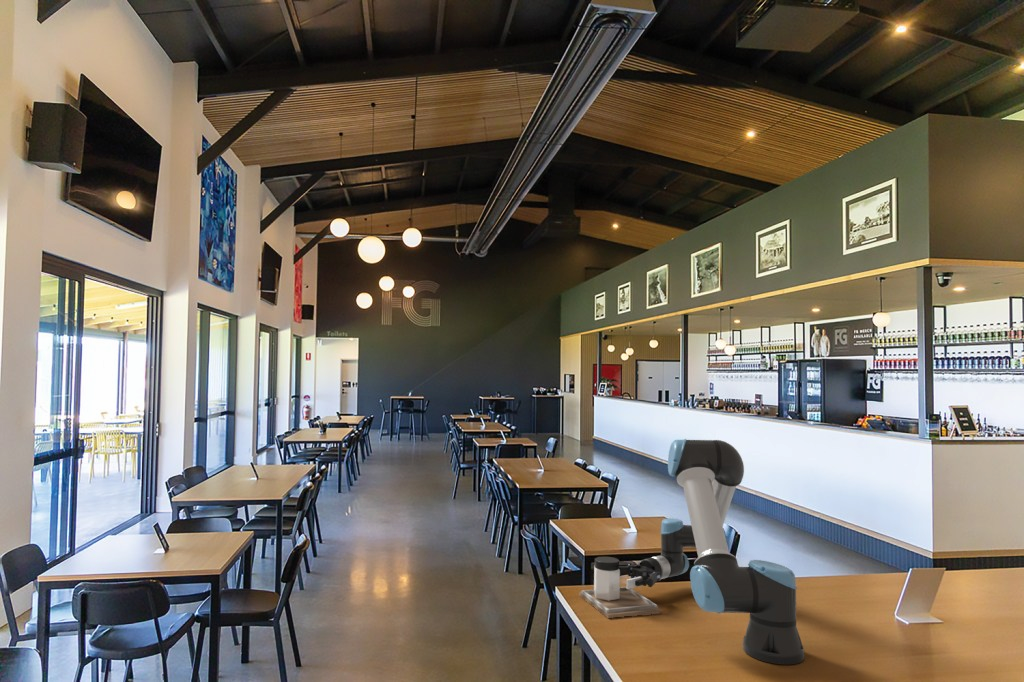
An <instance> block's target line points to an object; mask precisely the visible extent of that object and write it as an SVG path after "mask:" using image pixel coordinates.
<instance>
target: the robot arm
mask: <svg viewBox="0 0 1024 682" xmlns="http://www.w3.org/2000/svg"><path fill="white" fill-rule="evenodd" d="M744 466H745V465H744V461H743V459H742V456H741V454H740V453H739V451H738V450H737V449H736V448H735V447H734V446H733V445H732V444H730V443H729V442H726V441H723V440H719V439H687V438H684V439H675V440H673V441H672V442H671V444H670V447H669V451H668V458H667V471H668V472H667V473H668V475H669V476H671V477H676V483H677V484H678V485H679V486H680V487H682V488H683V493H684V496H685V497H684V498H685V501H686V506H687V507H686V508H687V510H688V514H689V521H690V524H691V525H689V524H684V522H683V521H682V519H680V518H679V519H678V518H671V517H669V518H668V517H667V518H664V519H662V521H661V526H660V540H661V541H660V545H661V549H660V555H656V556H652V557H647V558H644V559H641V561H640V562H639V564H632V562H628V563H627V562H626V563H619V570H620V575H623V576H624V575H625V576H628V577H631V578H628V579H626V580H625V585H626V586H625V587H626V589H634V588H637V587H641V586H643V587H646V586H648V588H652V587H653V586H654V585H655V584H656V583H657V582H658V581H661V580H662V579H663V580H665V579H666V578H672V577H675V576H677V577H678V576H679V575H682V574H684V573H686V572H687V571H688V569H689V567H690V561H689V558H688V556H687V555H686V554H685V553H684V548H695V550H696V553H697V558H696V559H695V560H694V562H693V566H692V567H691V569H690V572H689V580H690V587H691V588H690V589H691V591H692V596H693V598H694V600H695V603H696V604H697V605H698V607H699V608H700V609H701V610H702V611H705V612H707V613H708V612H709V613H716V614H722V613H725V614H726V613H728V614H730V613H731V614H733V613H735V614H736V613H737V614H749V621H748V623H747V627H746V631H745V635H743V636H744V637H743V638H742V639H743V640H742V647H743V648H742V649H743V652H745V654H747V655H749V656H750V657H751V658H754V659H757V660H759V661H762V662H764V663H765V662H766V663H769V664H775V665H785V666H789V665H798V664H800V663H802V662H804V660H805V648H804V646H803V644H802V640H801V636H800V633H799V630H798V628H797V627H798V626H797V583H796V576H795V573H794V571H793V570H791V569H790V568H789V567H786V566H784V565H782V564H779V563H776V562H772V561H767V560H761V559H751V560H749V561H748V564H747V566H739V564H738V560H737V557H736V556H735V555H733V554H732V553H730V551H729V547H728V543H727V536H726V535H727V534H726V531H725V529H724V523H725V520H726V518H727V514H728V512H729V509H730V507H731V503H732V499H733V497H734V494H735V491H736V489H737V487H738V486H739V485H741V484H742V481H743V478H744V474H745V467H744ZM632 577H633V578H632Z"/></svg>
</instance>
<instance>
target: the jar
mask: <svg viewBox="0 0 1024 682" xmlns="http://www.w3.org/2000/svg"><path fill="white" fill-rule="evenodd" d="M619 564H620V560H619V559H618V558H617V557H614V556H613V557H611V556H597V557H595V558H594V565H593V568H594V569H593V572H594V573H593V578H594V579H593V589H594V595H595V597H596V598H597V599H602V600H607V601H610V600H616V599H619V598H620V586H621V585H620V584H621V581H620V580H621V578H620V576H621V574H620V570H619Z"/></svg>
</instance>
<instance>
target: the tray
mask: <svg viewBox="0 0 1024 682" xmlns="http://www.w3.org/2000/svg"><path fill="white" fill-rule="evenodd" d="M578 596H579V597H580V598H581V597H582V598H581V599H583V600H584V599H585V600H586V601H587V602H586V601H585V600H584V601H585V602H586V603H587V604H589V603H590V604H591V605H592V607H593V606H594V607H595V608H596V609H597V611H598V610H599V611H600V612H601V613H600V612H599V611H598V612H599V613H600V614H601V615H603V614H604V615H605V616H606V618H607V619H608V618H612V619H614V618H613V617H622V618H624V617H623V616H632V617H638V616H637V615H642V616H649V615H650V616H651V614H652V615H660V614H661V609H660V608H658V604H656V603H655V602H653V601H652V600H650V599H648V598H647V597H645V596H644V595H643V594H641V593H639V592H638V591H636V590H635V589H634V588H631V589H626V586H621V587H620V598H619V599H616V600H610V601H607V600H602V599H597V598H596V597H595V595H594V588H593V589H584V590H583V589H582V590H580V591H579V592H578ZM590 604H589V605H590ZM591 605H590V606H591ZM594 607H593V608H594ZM595 608H594V609H595ZM596 609H595V610H596ZM604 615H603V616H604ZM605 616H604V617H605Z"/></svg>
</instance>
